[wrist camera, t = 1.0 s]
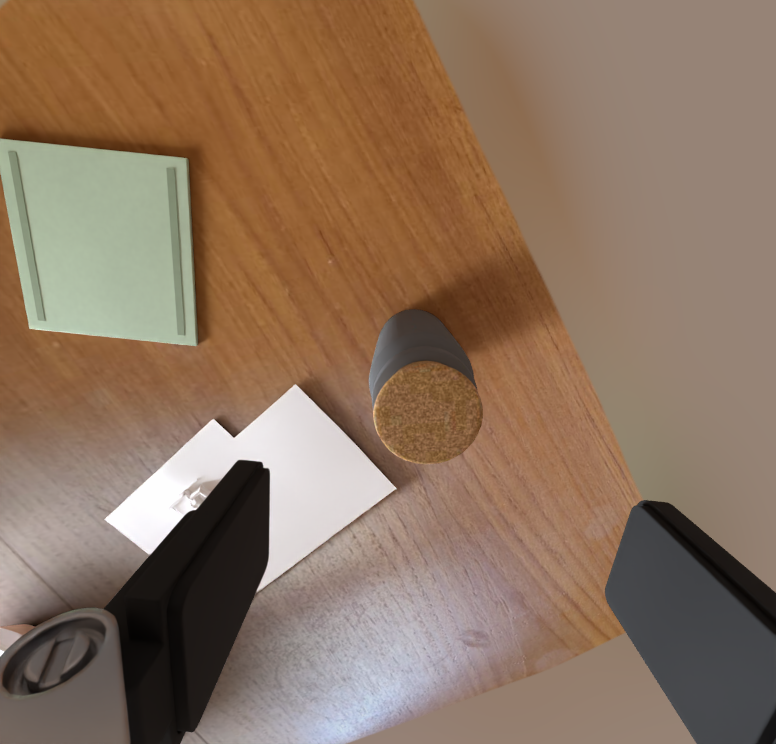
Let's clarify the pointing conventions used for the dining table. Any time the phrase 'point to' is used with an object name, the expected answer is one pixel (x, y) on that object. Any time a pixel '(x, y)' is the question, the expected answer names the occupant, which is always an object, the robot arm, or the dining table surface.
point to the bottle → (423, 390)
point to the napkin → (102, 240)
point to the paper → (287, 481)
